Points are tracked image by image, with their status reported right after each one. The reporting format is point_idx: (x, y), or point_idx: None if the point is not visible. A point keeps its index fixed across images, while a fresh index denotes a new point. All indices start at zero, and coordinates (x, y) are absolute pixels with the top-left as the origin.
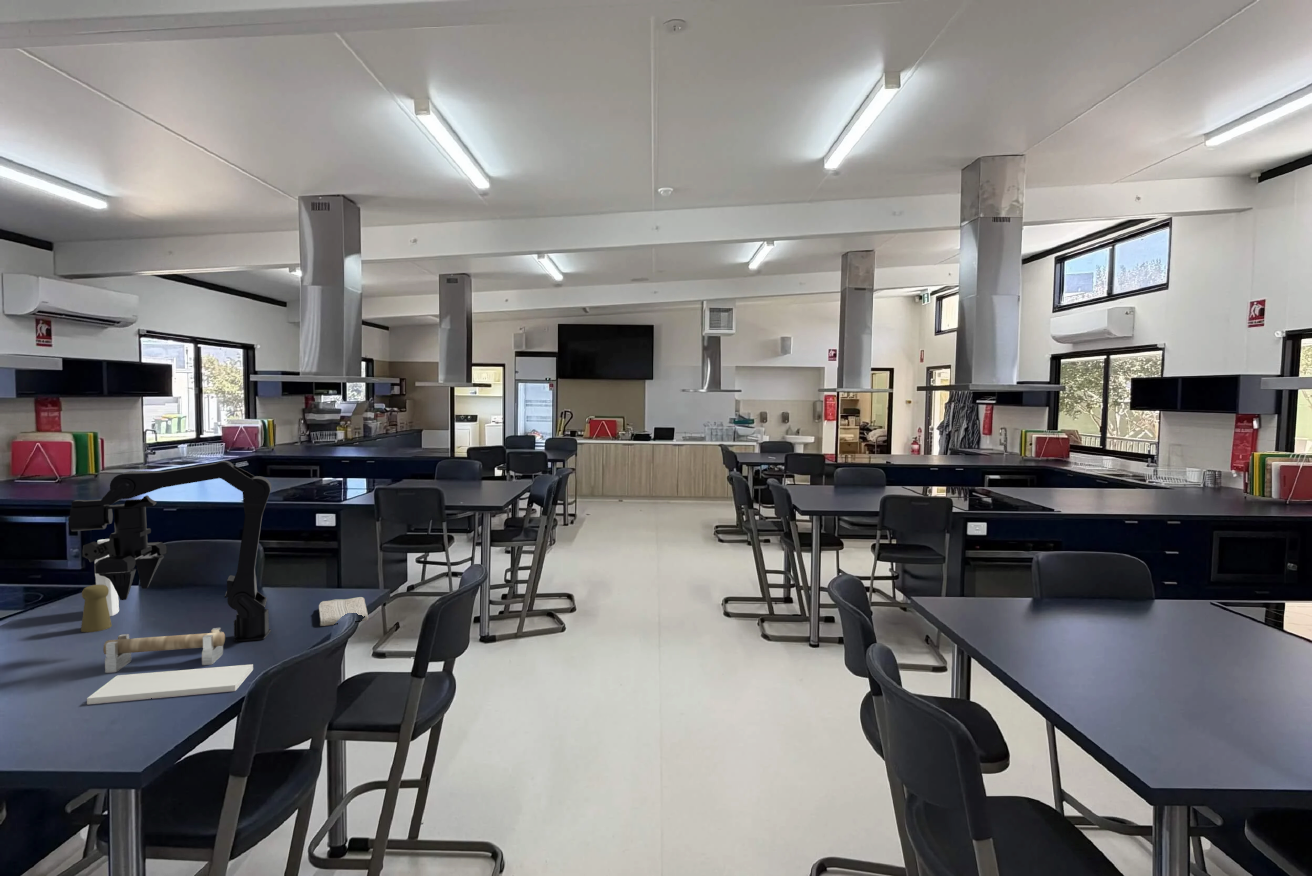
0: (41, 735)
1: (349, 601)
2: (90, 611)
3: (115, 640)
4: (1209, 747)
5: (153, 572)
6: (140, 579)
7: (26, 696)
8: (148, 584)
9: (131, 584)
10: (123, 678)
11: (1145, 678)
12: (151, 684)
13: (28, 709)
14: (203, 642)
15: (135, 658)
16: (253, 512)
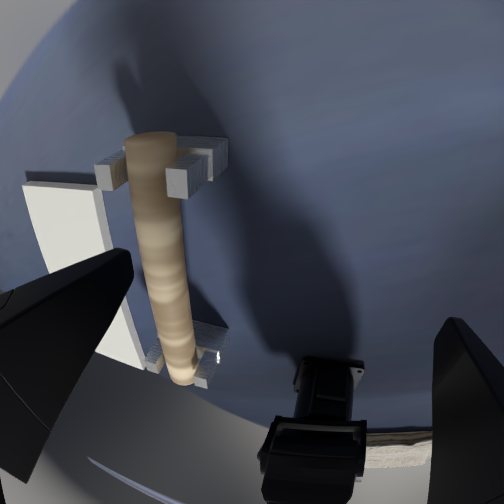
0: None
1: (408, 460)
2: None
3: (135, 172)
4: (107, 470)
5: (432, 476)
6: (476, 374)
7: (56, 45)
8: (434, 372)
9: (75, 381)
10: (80, 210)
11: (147, 491)
12: (65, 261)
13: (18, 97)
14: (149, 351)
15: (249, 170)
16: None
